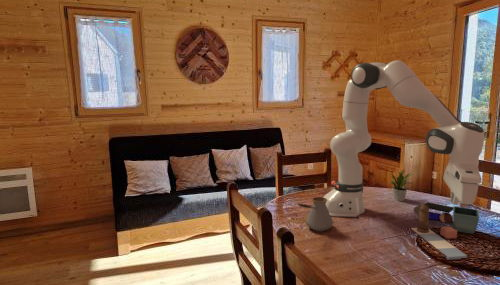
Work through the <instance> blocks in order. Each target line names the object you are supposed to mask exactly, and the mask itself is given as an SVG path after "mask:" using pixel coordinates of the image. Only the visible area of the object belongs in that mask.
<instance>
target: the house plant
mask: <svg viewBox="0 0 500 285" xmlns="http://www.w3.org/2000/svg"><path fill="white" fill-rule="evenodd" d="M397 171H398V176H397V177H396V176H395V175H394V173H392V172H391V171H389V173H390V174H389V176H391V177H392V181H391V180H389V182H388V183H389V184H390V183H391V184H392V185H393V186H392V189H391V190H392V196H393V197H392V198H393V200H394V201H396V202H405V199H406V197H407V196H406V194H407V191H408V188H407V186H408V185H410V184H412V185H413V182H410V183H408V180H409V179H410V177H412V173H413V171H411V172H409V173H407V174H406V175H404V171H403V170H400V171H399V170H397Z"/></svg>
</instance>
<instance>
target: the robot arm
mask: <svg viewBox="0 0 500 285" xmlns="http://www.w3.org/2000/svg"><path fill="white" fill-rule="evenodd" d="M385 88H387V89H388V90H389V92H390V93H391V95H392V96H393V98H394V99H395V101H397V102H398V103H399V105H402V106H405V107H408V108H413V109H417V110H421V111H423V112H425V113H427V114H429V115H430V117H431V118H432V119H433V120H434V121H435V122H436V124H438V125H439V126H437V127H434V128H432V129H430V130H428V131H427V133H426V135H425V145H426V147H427V148H428V149H429V151H431V152H433V153H436V154H440V155H447V156H449V159H448V163H447V165H446V167H445V170H444V174H443V176H442V178H443V181H444V183H445V184H446V185H447V186H448V188H449V189H450V202H451V204H452V205H453V206H458V205H459V204H462V205H473V204H474V203H475V201H476V197H477V195H478V192H479V191H478V190H479V184H481V183H482V181H483V180H482V176H481V174H480V171H479V165H480V164H479V163H480V159H479V158H480V155H481V154H482V151H483V148H484V142H485V131H484V128H483V127H482V126H480V125H479V124H477V123H475V122H469V121H462V120H460V119H458V117H456V116H455V115H454V113H453V112H452V110H450V109H449V108H448V107H447V105H446V104H444V103H443V101H442V100H441V99H440V98H439V97H438V96H437V95H435V94H434V93H433V92H432V91H431V90H430V89H429V88H428V87H427V86H425V85H424V83H423V82H422V81H421V80H420V78H419V77H418V76H417V75H416V73H415V72H414V71H413V70H412V69H411V67H409V66H408V65H407V64H406V62H404V61H402V60H398V59H397V60H396V59H395V60H393V61H390V62H389V63H387V62H384V63H383V62H378V61H377V62H376V61H375V62H362V63H359V64H357V65H355V66H354V67H353V68H352V71H351V74H350V79H349V80H348V81H347V83H346V86H345V91H344V96H343V102H342V103H343V105H342V113H341V118H342V120H343V121H344V124H345V131H343V132H339V133H337V134H336V135H334V136H333V137H332V138H331V139H330V143H329V147H330V150H331V153H333V154H334V155H335V157H336V158H335V159H336V161H337V167H338V180H337V181H335V180H332V181H331V185H332V186H334V188H333V189H332V190H331V191H329V192H327V193H326V194H324V196H323V198H326V199H327V202H326V207H327V209H328V211H329V214H330V216H331V217H349V218H350V217H353V218H354V217H357V218H358V217H359V216H360V215H361V214H364V213H365V212H366V209H365V206H364V201H363V193H364V182H363V172H364V171H363V165H362V164H361V163H360V159H359V157H358V156H359V154H358V153H361V152H364V151H366V150H367V149H368V148H369V147H370V146H371V145H372V135H370V133H369V130H368V121H367V120H368V119H367V118H368V109H369V103H370V102H369V100H370V94H371V92H372V91H373V90H380V89H385Z"/></svg>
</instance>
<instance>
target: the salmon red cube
mask: <svg viewBox="0 0 500 285" xmlns="http://www.w3.org/2000/svg"><path fill="white" fill-rule="evenodd" d="M439 234H440V235H441V236H443V237H444V238H446V239H457V237H458V231H457V230H455V228H453V227H452V226H440V232H439Z"/></svg>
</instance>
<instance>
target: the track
mask: <svg viewBox="0 0 500 285" xmlns="http://www.w3.org/2000/svg"><path fill="white" fill-rule="evenodd" d="M410 229H411V230H412V231H414V232H415V233H416V234H417V235H419V236H420V237H421V238H423V239H424V240H425V241H427V242H428V243H429V244H430V245H432V246H433V247H434V248H436V249H437V251H440V252H441V253H442V254H444V255H443V257H444V259H447V260H449V261H451V260H462V259H461V258H467V259H468V255H467V254H465V253H464V252H463V251H462V250H460V249H459V248H457V247H455V246H454V245H453V244H451V243H450V242H448V241H447V239H444V238H443V237H442V236H440V235H438V234H437V233H436V232H434V231H433V230H432V229H430V228H429V232H428V233H421V232H418V231H417V227H411V228H410Z"/></svg>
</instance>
